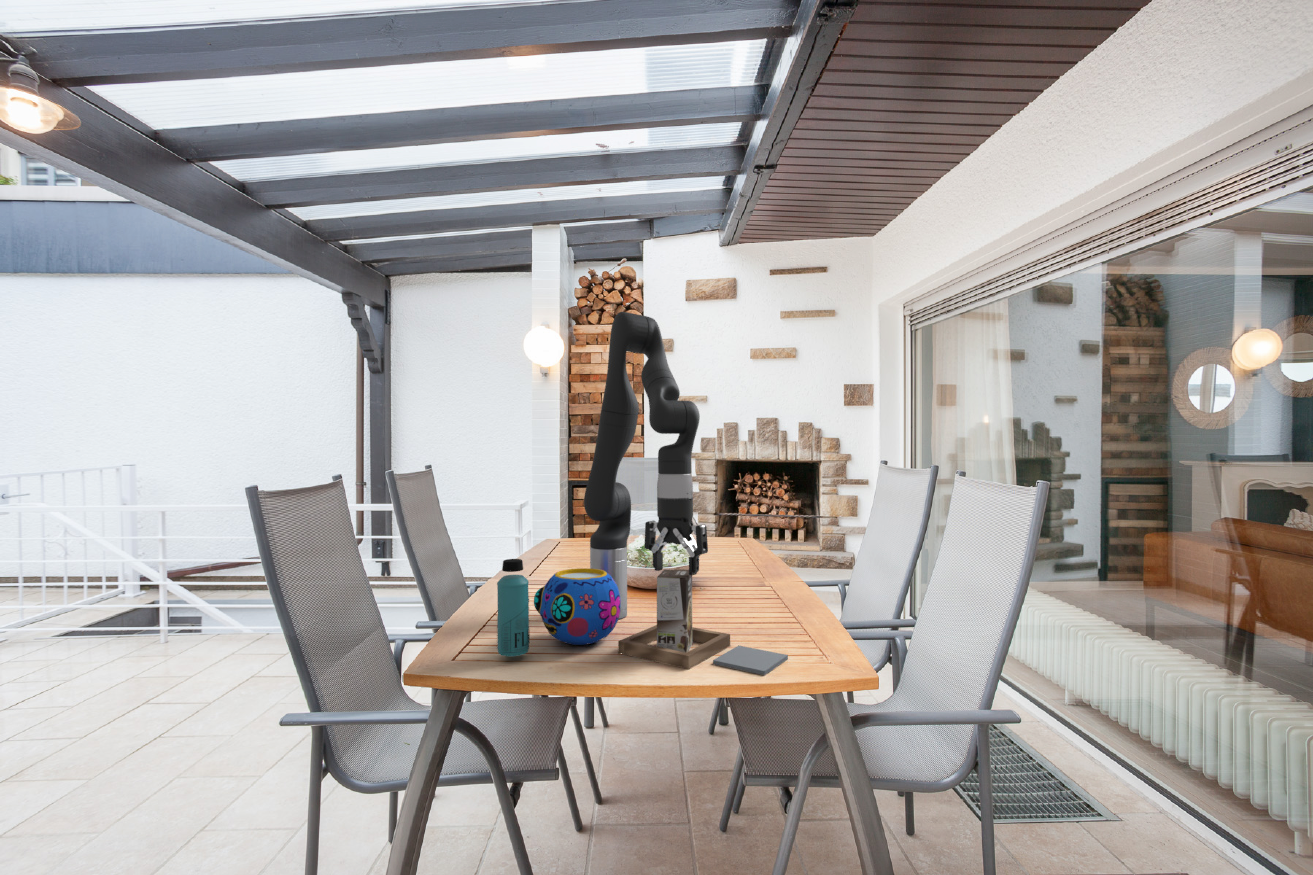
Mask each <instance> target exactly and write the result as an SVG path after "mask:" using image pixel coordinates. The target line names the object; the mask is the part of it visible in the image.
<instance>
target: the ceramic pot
mask: <svg viewBox="0 0 1313 875" xmlns="http://www.w3.org/2000/svg"><path fill="white" fill-rule="evenodd" d="M533 605H534V608H535V611H537V613H539V615H540V617H541V620H542V622H543V625H544V627H545V629H546V630H547V632H548V633H549V635H550V636H552V637H553V638H554V639H556V640H558V641H560V642H562V643H565V644H568V645H574V646H585V645H589V644H594V643H597V642H599V641H601V640H603V639H604V638H607V637H608V636H609V635H610V634H611V633H612V632H613V631H614V628H615V627H616V625H617V623H618V621H619V614H620V607H621V599H620V594H619V590H618V587H617V584H616V583H615V581H614V579H613V578H612V577H611V576H610V575H609V574H608V573H607V572H605V571H603V570H599V569H590V567H589V568H588V567H587V568H583V567H582V568H569V569H563V570H559V571H557V572H555V573H554V574H553V575H552V576H551V577H550V578H548V581H547V582H546V583H545V584H544V586H542V587H541V588H538V589H537V591H536V592H535V594H534V597H533Z"/></svg>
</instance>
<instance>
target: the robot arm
mask: <svg viewBox="0 0 1313 875" xmlns="http://www.w3.org/2000/svg"><path fill="white" fill-rule="evenodd" d="M612 321H613V322H612V324H611V328H610V337H609V345H608V347H609V348H608V359H607V360H608V363H607V373H606V374H607V375H606V380H605V387H604V392H603V398H602V402H601V403H602V404H601V409H600V414H599V420H598V430H597V437H596V443H595V447H594V454H593V458H592V460H593V461H592V464H591V468H590V472H589V477H588V479H587V480H588V481H587V484H586V487H585V492H584V497H583V505H584V511H585V513H586V515H587V517H588V518H589V519H591V520H592V521H595V522H599V525H598V527H597V529H596V530H595V532H593V533H592V534H591V536H590V538H589V569H599V570H603V571H605V572H607V573H608V574H609V575H610V576H611V577H612V578H613V579H614V581H615V583H616V584H617V587H618V590H619V594H620V599H621V607H620V614H619V619H624V618H625V617H627V616H628V540H629V536H630V532H631V522H632V521H631V518H632V499H631V498H632V497H631V494H630V491H629V490H628V488H627V487H626V485H624V484H623V483H620V482H617V476H618V471H619V468H620V467H619V466H620V464H621V463H622V460H623V459H624V456H625V454H626V453H627V451H628V450H629V448H630V446H631V444H632V442H633V440H634V437H635V435H636V431H637V425H638V418H639V412H640V411H639V410H640V408H639V407H640V405H639V401H638V398H637V395H636V394H635V391H634V389H633V387H632V383H631V382H630V379H629V378H630V377H629V376H628V370H627V361H626V360H627V352H628V353H633V354H639V355H640V354H643V355H644V356H646V357H647V360H646V362H645V363H644V365H643V367H642V370H641V377H640V378H641V383H642V388H643V389H644V392H645V393H646V397H647V399H648V404H649V413H648V414H649V416H648V418H649V420H648V422H649V425H650V427H651V428H652V430H653V431H655V433H658V434H661V435H671V434H673V435H674V434H678V437H677V439H676V441H675V442H674V443H671V444H667V445H664V446H660V448H659V449H658V453H657V473H658V474H657V476H658V477H657V481H656V482H657V484H656V493H657V494H656V495H657V496H656V502H657V503H656V505H657V508H656V509H657V510H656V512H657V513H656V515H657V517H658V521H656V520H649V521H646V522H645V523H644V524H645V526H644V527H645V528H644V529H645V530H644V549H645V550H649V551H651V553H652V566H653V567H652V568H654V571H656V572H661V571H663V570H664V553H663V550H664V548H665V547H666V545H668V544H669V545H670V544H674V545H681V546H682V548H683V549H685V551H686V552H687V554H688V555H689V557H688V570H689V575H692V576H696V575H697V574H698V573H699V571H700V556H701V555H705V554H708V552H709V547H708V533H707V532H708V531H707V530H708V527H707V525H706V524H704V523H702V524H697V525H696V524H694V523H693V517H694V486H693V485H694V483H693V478H692V476H693V475H692V473H693V472H692V453H693V449H694V443H695V439H696V436H697V432H698V430H699V429H698V428H699V425H700V411H699V408H698V406H697V404H696V403H695V402H694V401H690V400H680V394H681V393H680V388H679V385H678V383H677V382H676V379H675V377H674V375H673V372H672V371H671V368H670V366H669V364H668V360H667V354H666V349H665V345H664V341H663V336H662V333H661V328H660V326H659V324H658V322H657V321H656V320H655V318H653V317H651V316H647V315H642V314H637V313H632V312H628V311H619V312H618V313H617V314H615V317H614V318H613V320H612ZM657 531H658V532H659V535H658V537H657ZM692 534H694V535H695V539H694V537H693V535H692ZM656 537H657V538H656ZM619 619H618V620H619Z"/></svg>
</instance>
